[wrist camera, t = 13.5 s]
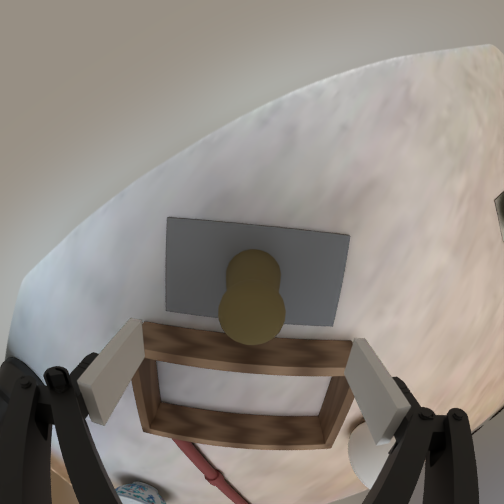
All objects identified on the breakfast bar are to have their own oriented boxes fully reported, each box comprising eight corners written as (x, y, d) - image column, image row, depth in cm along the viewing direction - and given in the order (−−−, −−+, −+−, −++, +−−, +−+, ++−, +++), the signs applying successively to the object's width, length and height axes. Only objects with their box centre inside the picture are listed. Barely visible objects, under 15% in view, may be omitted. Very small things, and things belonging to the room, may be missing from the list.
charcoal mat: (167, 308, 32) (165, 310, 31) (168, 217, 29) (167, 217, 29) (331, 324, 32) (332, 326, 31) (348, 235, 29) (350, 235, 29)
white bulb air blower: (335, 424, 36) (361, 514, 18) (380, 403, 35) (420, 487, 18) (347, 444, 37) (370, 523, 20) (387, 426, 37) (421, 500, 19)
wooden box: (154, 405, 36) (143, 431, 30) (144, 321, 32) (125, 345, 26) (323, 420, 36) (330, 448, 30) (351, 340, 32) (366, 366, 26)
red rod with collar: (165, 422, 37) (160, 435, 34) (181, 420, 37) (177, 434, 33) (253, 514, 46) (253, 523, 43) (264, 513, 46) (264, 522, 43)
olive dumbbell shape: (243, 238, 29) (235, 267, 18) (291, 267, 30) (310, 309, 19) (215, 284, 30) (195, 333, 20) (262, 310, 31) (264, 368, 20)
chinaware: (117, 465, 42) (106, 488, 34) (178, 488, 42) (172, 512, 35) (117, 485, 45) (110, 505, 37) (170, 504, 46) (165, 525, 38)
